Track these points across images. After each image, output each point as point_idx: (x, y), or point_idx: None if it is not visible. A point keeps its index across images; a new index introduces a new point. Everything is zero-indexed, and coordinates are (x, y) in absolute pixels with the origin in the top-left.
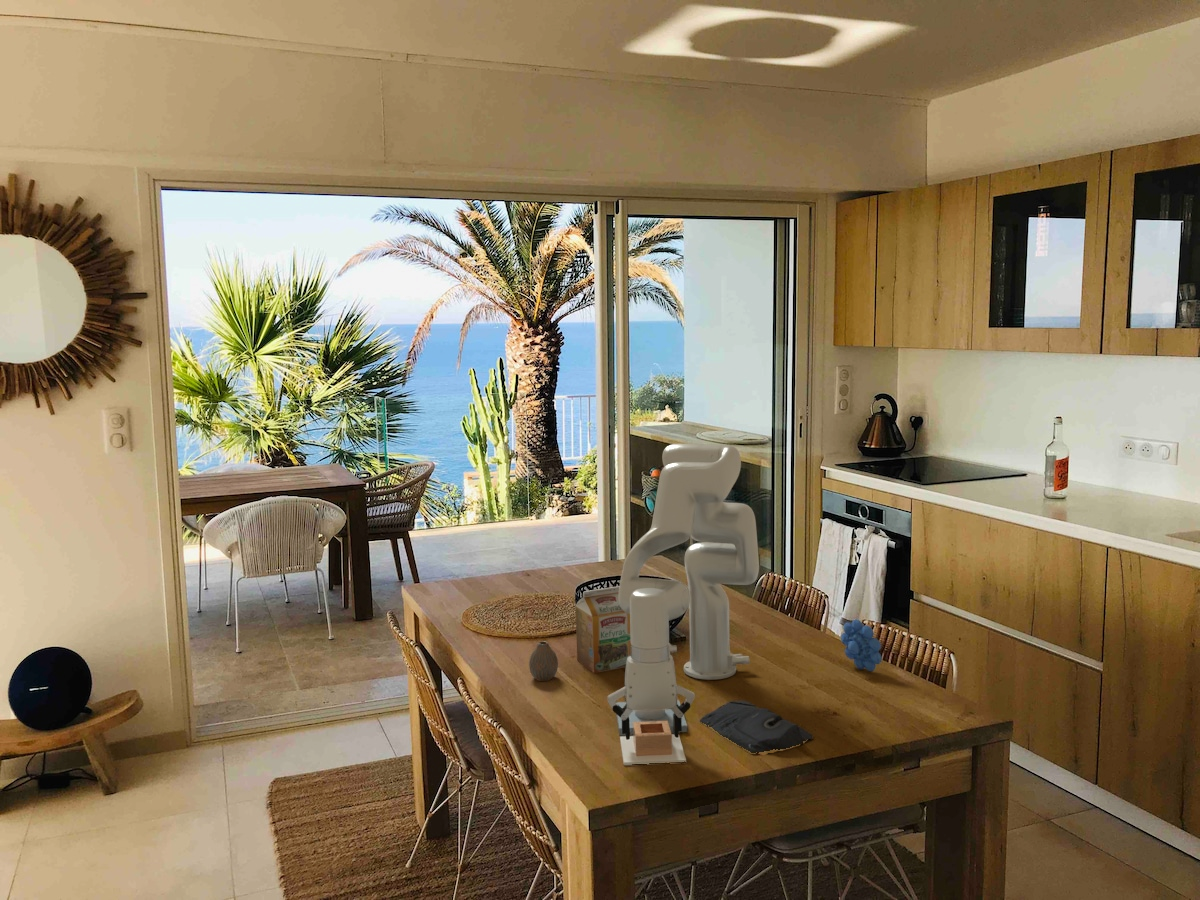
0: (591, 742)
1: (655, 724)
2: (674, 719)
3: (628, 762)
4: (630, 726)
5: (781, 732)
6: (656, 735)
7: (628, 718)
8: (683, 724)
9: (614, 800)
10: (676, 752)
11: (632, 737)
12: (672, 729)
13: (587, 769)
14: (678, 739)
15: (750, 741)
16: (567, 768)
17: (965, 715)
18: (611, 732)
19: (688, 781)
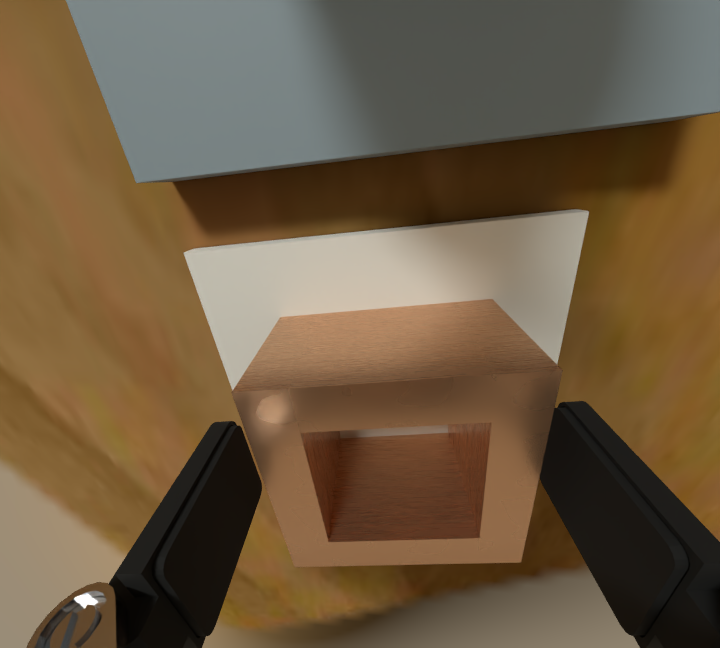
0: (45, 286)
1: (433, 421)
2: (625, 608)
3: None
4: (216, 139)
5: None
6: (422, 562)
7: (186, 614)
8: (708, 80)
9: (284, 619)
10: None
11: (267, 268)
12: (567, 132)
13: (151, 505)
14: (559, 298)
15: None
16: (77, 498)
17: None
18: (97, 121)
19: (497, 568)
